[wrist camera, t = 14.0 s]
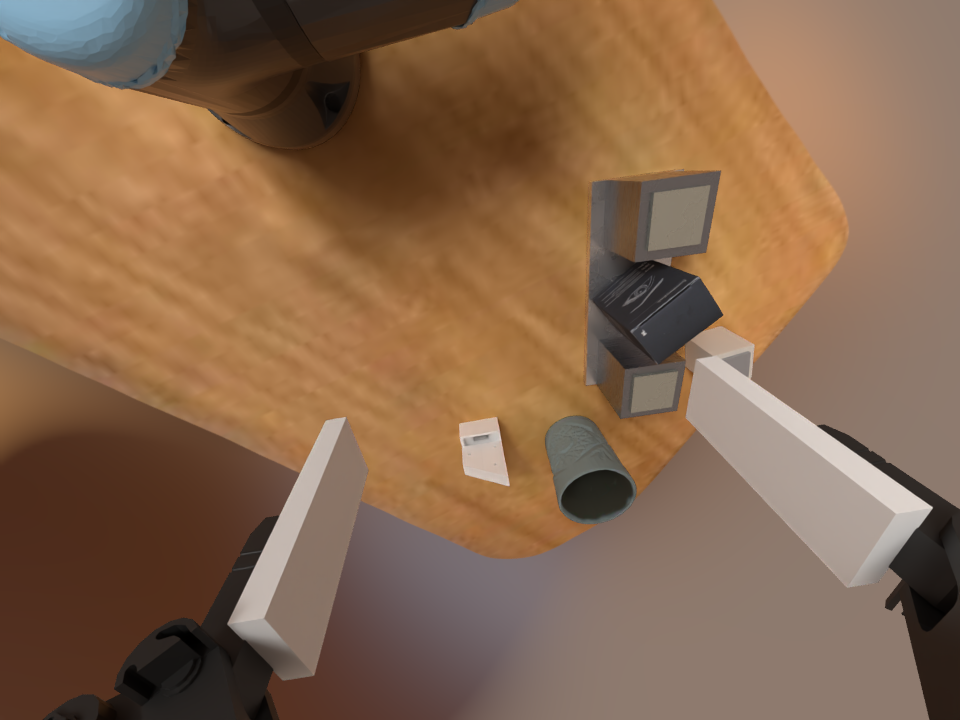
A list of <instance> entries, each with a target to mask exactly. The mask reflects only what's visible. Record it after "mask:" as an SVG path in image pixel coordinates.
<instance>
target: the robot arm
mask: <svg viewBox="0 0 960 720" xmlns="http://www.w3.org/2000/svg"><path fill="white" fill-rule="evenodd" d="M517 1H518V0H0V36H1V37H2V38H3V39H5V40H7V41H8V42H10V43H12V44H14V45H16V46H17V47H19V48H21V49H22V50H24V51H25V52H27V53H29V54H31V55H33V56H35V57H37V58H39V59H42V60H44V61H46V62H49V63H51V64H54V65H56V66H59V67H61V68H64V69H67V70H69V71H72V72H74V73H77V74H79V75H81V76H83V77H85V78H87V79H89V80H91V81H93V82H96V83H101V84H103V85H106V86H109V87H116V88H119V89H132V90H136V91H140V92H144V93H148V94H152V95H156V96H160V97H164V98H167V99H171V100H175V101H179V102H183V103H187V104H191V105H195V106H199V107H203V108H207V109H208V110H209V111H210V112H211V113H212V114H213V115H214V116H215V117H216V118H217V119H218V120H220V121H221V122H222V123H223V124H225V125H226V126H227V127H229V128H230V129H232V130H233V131H235V132H236V133H238V134H240V135H242V136H243V137H245V138H247V139H250V140H252V141H254V142H257V143H259V144H262V145H266V146H270V147H275V148H282V149H291V150H298V149H306V148H311V147H314V146H317V145H320V144H322V143H324V142H325V141H327V140H329V139H330V138H331V137H333V136H334V135H335V134H336V133H337V132H338V131H339V130H340V129H341V128H342V127H343V125H344V124H345V123H346V121H347V120H348V118H349V116H350V114H351V112H352V110H353V108H354V105H355V102H356V99H357V95H358V90H359V83H360V55H359V53H361V52H365V51H368V50H372V49H375V48H379V47H383V46H386V45H390V44H393V43H397V42H400V41H404V40H407V39H411V38H414V37H418V36H422V35H425V34H429V33H432V32H436V31H439V30H443V29H446V28H450V27H451V28H453V29H464V28H466V27H467V25H470V24H472V23H473V22H474V21H475V20H476V19H478V18H480V17H483V16H486V15H489V14H492V13H495V12H498V11H500V10H503V9H506V8H509V7H511V6H513V5H514V4H515V3H516V2H517ZM686 418H687V420H688V421H689V422H690V423H691V424H692V425H693V426H694V427H695V428H696V429H697V430H698V431H699V432H700V433H701V434H702V435H703V436H704V437H705V438H706V439H707V441H708V442H709V443H710V444H711V445H712V446H713V447H714V448H715V449H716V450H717V451H718V452H719V453H720V454H721V455H722V456H723V457H724V458H725V460H727V462H728V463H729V464H730V465H731V466H732V467H733V468H734V469H735V470H736V471H737V472H738V473H739V474H740V475H741V476H742V477H743V478H744V479H745V481H746V482H747V483H748V484H749V485H750V486H751V487H752V488H753V489H754V490H755V491H756V492H757V493H758V494H759V495H760V496H761V497H762V498H763V500H764V501H765V502H766V503H767V504H768V505H769V506H770V507H771V508H772V509H773V510H774V511H775V512H776V513H777V514H778V515H779V516H780V517H781V519H782V520H783V521H784V522H785V523H786V524H787V525H788V526H789V527H790V528H791V529H792V530H793V531H794V532H795V533H796V534H797V535H798V536H799V537H800V539H802V541H803V542H804V543H805V544H806V545H807V546H808V547H809V548H810V549H811V550H812V551H813V552H814V553H815V554H816V555H817V556H818V557H819V558H820V560H821V561H822V562H823V563H824V564H825V565H826V566H827V567H828V568H829V569H830V570H831V571H832V572H833V573H834V574H835V575H836V576H837V577H838V579H840V581H841V582H842V583H843V584H844V585H845V586H846V587H853V586H860V585H866V584H872V583H877V582H879V581H880V579H881V578H882V577H883V575H884V574H885V573H886V571H887V570H888V568H891V569H892V570H893V571H894V572H895V573H896V574H897V575H898V576H899V577H901V578H902V580H901V582H900V583H899V584H898V586H897V587H896V588H895V589H894V591H893V592H892V593H891V594H890V596H889V597H888V598H887V600H886V604H885V608H886V609H889V610H893V608H894V607H895V606H896V605H897V604H898V602H899V601H900V600H901V603H902V606H903V612H902V615H904V616H905V619H906V623H907V628H908V632H909V636H910V640H911V644H912V649H913V653H914V657H915V661H916V665H917V670H918V674H919V678H920V682H921V686H922V690H923V695H924V699H925V703H926V707H927V711H928V715H929V719H930V720H960V509H958V508H957V507H955V506H954V505H952V504H951V503H949V502H948V501H946V500H945V499H943V498H942V497H940V496H939V495H937V494H936V493H934V492H933V491H931V490H930V489H928V488H927V487H925V486H924V485H922V484H921V483H919V482H918V481H916V480H915V479H913V478H912V477H910V476H909V475H907V474H906V473H904V472H903V471H901V470H900V469H898V468H897V467H895V466H894V465H892V464H891V463H886V461H885V459H883V458H882V457H880V456H879V455H877V454H876V453H874V452H873V451H871V452H870V451H869V450H868V448H867V447H865V446H864V445H862V444H861V443H859V442H858V441H856V440H855V439H853V438H852V437H850V436H849V435H847V434H845V433H842V432H840V431H838V430H836V429H833V428H831V427H829V426H826V425H818V426H816V425H814V424H813V423H811V422H810V421H809V420H807V419H806V418H805V417H803V416H802V415H800V414H799V413H797V412H796V411H794V410H793V409H792V408H790V407H789V406H787V405H786V404H784V403H783V402H782V401H780V400H779V399H777V398H776V397H774V396H773V395H772V394H770V393H769V392H767V391H766V390H765V389H763V388H762V387H760V386H759V385H757V384H756V383H755V382H753V381H751V380H750V379H749V378H747V377H746V376H745V375H743V374H742V373H740V372H739V371H738V370H736V369H735V368H733V367H732V366H730V365H729V364H728V363H726V362H725V361H723V360H722V359H720V358H719V357H718V356H712V357H706V358H700V359H696V363H695V368H694V374H693V379H692V385H691V390H690V396H689V401H688V407H687V413H686ZM367 474H368V468H367V465H366V463H365V460H364V458H363V456H362V453H361V451H360V448H359V446H358V444H357V441H356V439H355V437H354V434H353V432H352V429H351V427H350V425H349V422H348V420H347V417H343V418H337V419H331V420H326V421H325V423H324V425H323V428H322V430H321V432H320V434H319V436H318V438H317V440H316V442H315V444H314V446H313V448H312V450H311V452H310V454H309V456H308V458H307V461H306V463H305V465H304V467H303V469H302V471H301V473H300V475H299V477H298V479H297V481H296V483H295V485H294V487H293V489H292V492H291V494H290V496H289V498H288V500H287V502H286V504H285V506H284V508H283V510H282V512H281V514H280V515H279V516H273V517H267V518H265V519H264V520H263V521H262V522H261V523H260V525H259V526H258V527H257V528H256V529H255V530H254V531H253V532H252V533H251V534H250V536H249V538H248V540H247V542H246V544H245V546H244V547H243V549H242V551H241V553H240V554H241V555H240V557H238V558H237V560H236V562H235V564H234V566H233V568H232V572H231V573H229V575H228V577H227V579H226V581H225V583H224V584H223V586H222V588H221V590H220V592H219V594H218V596H217V597H216V599H215V601H214V603H213V605H212V607H211V608H210V610H209V612H208V614H207V616H206V618H205V620H204V622H203V623H202V625H201V627H200V626H199V625H198V624H197V623H196V622H195V621H194V620H193V619H188V618H181V619H177V620H173V621H170V622H168V623H166V624H165V625H163V626H161V627H160V628H158V629H156V630H155V631H153V632H152V633H151V634H150V635H149V636H148V637H147V638H145V639H144V640H143V641H142V642H141V643H139V645H138V646H137V647H136V648H135V649H134V651H133V652H132V653H131V654H130V655H129V656H128V657H127V659H126V661H125V662H124V664H123V666H122V668H121V669H120V671H119V673H118V675H117V679H116V683H115V687H114V689H115V690H116V691H118V692H119V693H121V694H119V695H117V696H115V697H114V698H111V699H109V700H107V701H104V700H102V699H100V698H99V697H97V696H95V695H81V696H78V697H76V698H73V699H71V700H69V701H67V702H65V703H64V704H62V705H61V706H60V707H58V708H57V709H55V710H54V711H52V712H51V713H50V714H48V715H47V716H46V717H45V718H44V719H43V720H279V717H278V714H277V711H276V708H275V705H274V702H273V699H272V696H271V694H270V693H269V691H268V690H267V686H268V683H269V680H270V677H271V674H272V671H274V672H275V673H276V674H277V675H278V676H279V677H280V678H281V679H282V680H283V681H284V680H290V679H296V678H302V677H307V676H314V674H315V670H316V666H317V662H318V659H319V655H320V651H321V647H322V644H323V640H324V636H325V632H326V629H327V625H328V621H329V617H330V613H331V610H332V606H333V602H334V598H335V595H336V591H337V587H338V583H339V579H340V576H341V572H342V568H343V564H344V561H345V557H346V553H347V549H348V545H349V542H350V537H351V534H352V530H353V527H354V523H355V519H356V515H357V511H358V507H359V504H360V500H361V496H362V492H363V489H364V485H365V481H366V477H367Z"/></svg>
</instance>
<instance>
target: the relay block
mask: <svg viewBox="0 0 960 720" xmlns="http://www.w3.org/2000/svg"><path fill="white" fill-rule="evenodd" d="M753 355H754V344H753V343H751V342H749V341H747V340H745V339H744V338H742V337H740V336H738V335H736V334H735V333H733V332H731V331H729V330H728V329H726V328H724V327H722V326H720V327H716V328H713V329H709V330H706V331H703V332H701V333H699V334H698V335H697V336H695V337H694V338H693V339H691V340H690V341H689V342H687V343H686V344H685V360H686V364H685V367H687V368H688V369H689V370H690V371H692V372H693V373H694V368H695V363H696V359H700V358H706V357H712V356H718V357H719V358H720V359H722V360H723V361H725V362H726V363H728V364H729V365H730V366H732V367H733V368H735V369H736V370H738V371H739V372H740V373H742V374H743V375H745V376H746V377H747V378H751V376H752V366H753Z"/></svg>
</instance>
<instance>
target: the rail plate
mask: <svg viewBox="0 0 960 720" xmlns="http://www.w3.org/2000/svg"><path fill="white" fill-rule="evenodd" d="M720 173H721V171H684V169H678V170H671V171H663V172H656V173H649V174H641V175H634V176H627V177H620V178H612V179H605V180H598V181H590V182H589V190H588V230H587V270H586V310H585V349H584V383H585V385H586V386H587V385H594V384H597V386H598V387H599V388H600V390H601V391H602V393H603V394H604V396H605V397H606V399H607V400H608V401H609V403H610V404H611V406H612V407H613V409H614V410H615V411H616V413H617V414H618V416H619V417H620V419H622V418H629V417H636V416H643V415H650V414H657V413H664V412H671V411H677V408H678V403H679V397H680V392H681V386H682V381H683V375H684V370H685V364H686V360H685V359H683V358H682V357H681V356H680V355H678V354H677V353H676V352H674V353H673V354H672V355H670V356H669V357H668V358H666V359H665V360H664V361H662V362H661V363H660V364H656V363H655V362H654V361H653V360H651V359H650V358H649V357H648V356H647V355H646V354H644V353H643V352H642V351H641V350H640V349H639V348H637V347H636V346H635V345H634V344H633V343H631V342H630V341H629V340H628V339H627V338H626V337H625V336H624V335H622V334H621V333H620V332H619V331H618V330H616V329H615V327H614V326H613V325H612V324H611V323H610V322H609V320H608V319H607V318H606V317H605V315H604V314H603V313H602V312H601V311H600V310H599V308H598V307H597V306H596V305H595V303H594V302H593V301H592V300H593V299H594V298H595V297H597V296H598V295H599V294H600V293H601V292H602V291H604V290H605V289H606V288H607V287H608V286H609V285H611V284H612V283H613V282H614V281H615V280H616V279H617V278H619V277H620V276H621V275H622V274H623V273H625V272H626V271H627V270H628V269H629V268H630V267H631V266H633V265H634V264H635V263H636V262H641V261H649V260H655V261H657V262H660V263H663V264H665V265H668V266H671V259H672V257H677V256H684V255H692V254H699V253H706V250H707V244H708V239H709V233H710V228H711V223H712V217H713V212H714V206H715V201H716V195H717V190H718V184H719V179H720Z"/></svg>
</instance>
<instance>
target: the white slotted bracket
mask: <svg viewBox="0 0 960 720" xmlns="http://www.w3.org/2000/svg"><path fill="white" fill-rule="evenodd" d="M459 431H460V440H461V445H462V457H463V468H464V472H465V475H468V476H472V477H476V478H480V479H483V480H487V481H491V482H495V483H499V484H502V485H506V486H510V485H509V479H508V473H507V468H506V463H505V457H504V452H503V447H502V442H501V436H500V430H499V425H498V420H497V417H494V418H489V419H483V420H477V421H471V422H466V423H460V424H459Z"/></svg>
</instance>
